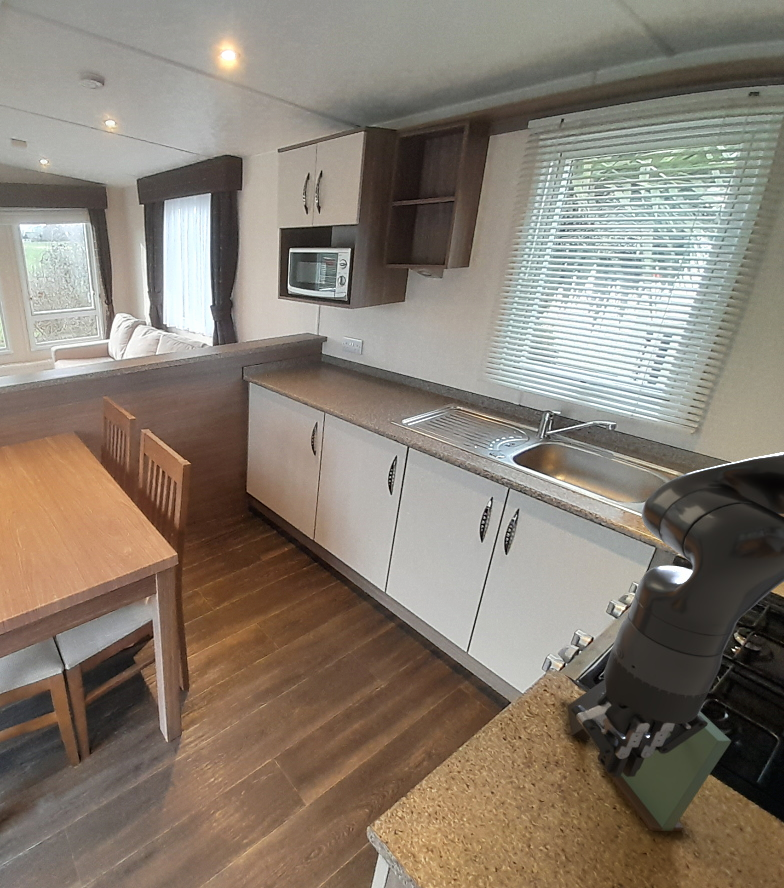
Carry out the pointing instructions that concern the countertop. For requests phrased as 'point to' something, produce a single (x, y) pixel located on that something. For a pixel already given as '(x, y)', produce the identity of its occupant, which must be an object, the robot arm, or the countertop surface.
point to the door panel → (673, 778)
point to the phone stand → (587, 703)
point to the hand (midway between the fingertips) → (616, 768)
